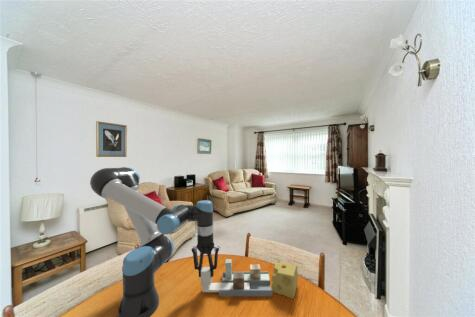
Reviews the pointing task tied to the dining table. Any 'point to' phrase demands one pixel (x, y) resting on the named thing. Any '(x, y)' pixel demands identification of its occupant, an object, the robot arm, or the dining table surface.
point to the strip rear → (246, 276)
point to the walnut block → (238, 281)
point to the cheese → (285, 279)
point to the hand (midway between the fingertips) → (206, 283)
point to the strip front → (215, 286)
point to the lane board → (255, 289)
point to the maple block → (255, 272)
